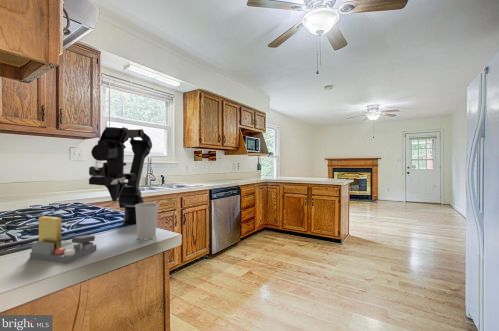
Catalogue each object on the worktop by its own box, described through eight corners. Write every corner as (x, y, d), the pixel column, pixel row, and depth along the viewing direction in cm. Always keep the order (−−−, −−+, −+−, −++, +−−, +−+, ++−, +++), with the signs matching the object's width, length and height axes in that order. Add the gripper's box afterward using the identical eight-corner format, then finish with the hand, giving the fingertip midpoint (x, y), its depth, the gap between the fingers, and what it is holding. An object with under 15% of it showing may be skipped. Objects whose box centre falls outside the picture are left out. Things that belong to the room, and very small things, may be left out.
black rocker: (85, 239, 77) (86, 235, 78) (94, 240, 77) (95, 236, 77) (71, 242, 72) (72, 237, 73) (81, 243, 72) (81, 238, 72)
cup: (141, 242, 85) (142, 208, 84) (130, 237, 89) (131, 204, 89) (162, 236, 91) (163, 205, 90) (150, 232, 96) (151, 201, 95)
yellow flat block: (45, 246, 73) (45, 215, 73) (62, 249, 72) (62, 217, 72) (37, 250, 71) (37, 217, 70) (54, 252, 70) (55, 219, 69)
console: (62, 245, 79) (62, 230, 79) (96, 249, 77) (96, 234, 77) (30, 257, 70) (30, 241, 69) (68, 263, 68) (68, 246, 67)
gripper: (113, 158, 103) (113, 195, 103) (75, 159, 84) (74, 204, 85) (137, 160, 101) (137, 197, 102) (103, 161, 82) (103, 206, 83)
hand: (114, 201), depth 93 cm, fingers closed
